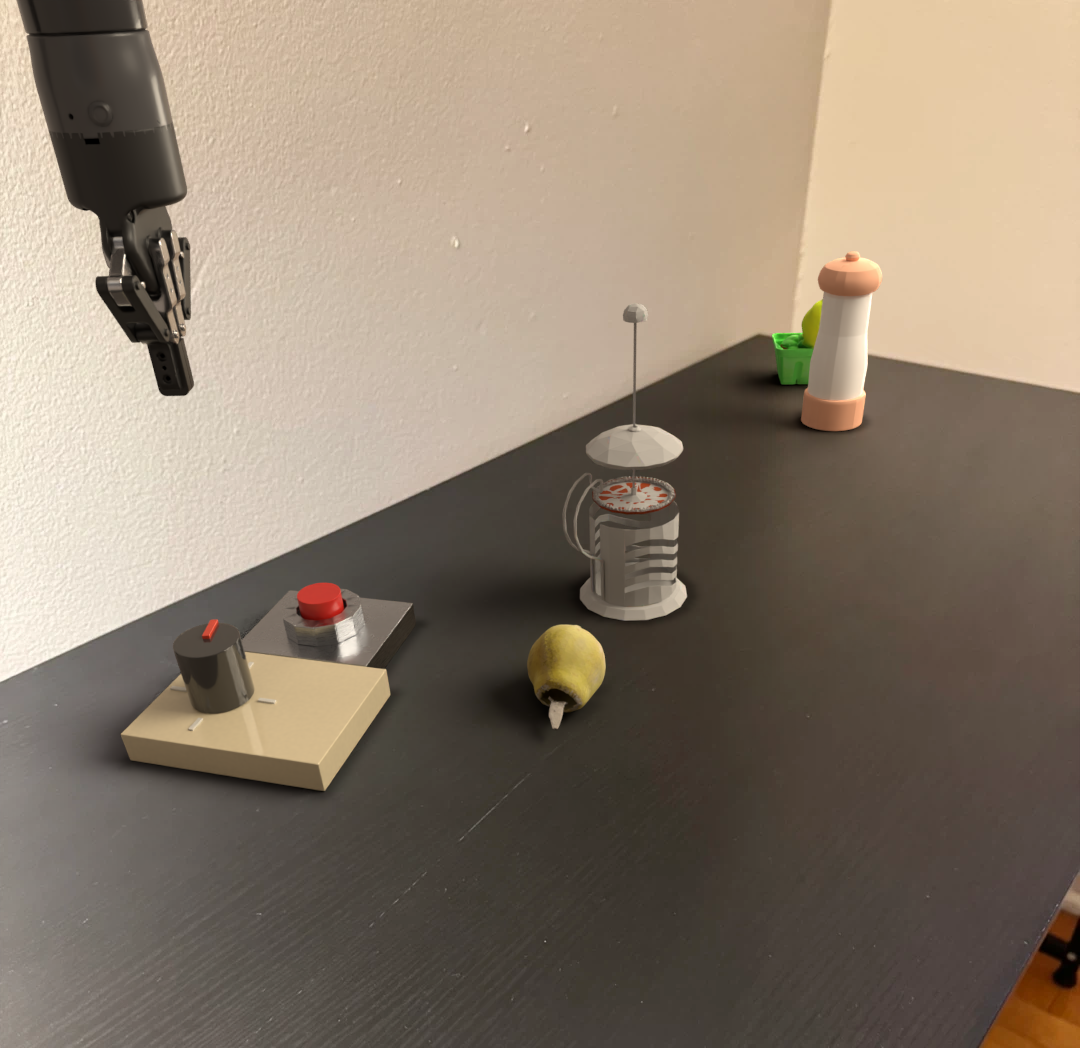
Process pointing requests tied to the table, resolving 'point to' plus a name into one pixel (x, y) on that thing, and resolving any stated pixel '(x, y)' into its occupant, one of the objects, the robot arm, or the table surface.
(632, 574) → the french press
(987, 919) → the table surface
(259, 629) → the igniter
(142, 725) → the panel
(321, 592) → the button
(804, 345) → the fruit basket
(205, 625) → the knob
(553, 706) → the fruit
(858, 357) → the salt shaker
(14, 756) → the table surface
